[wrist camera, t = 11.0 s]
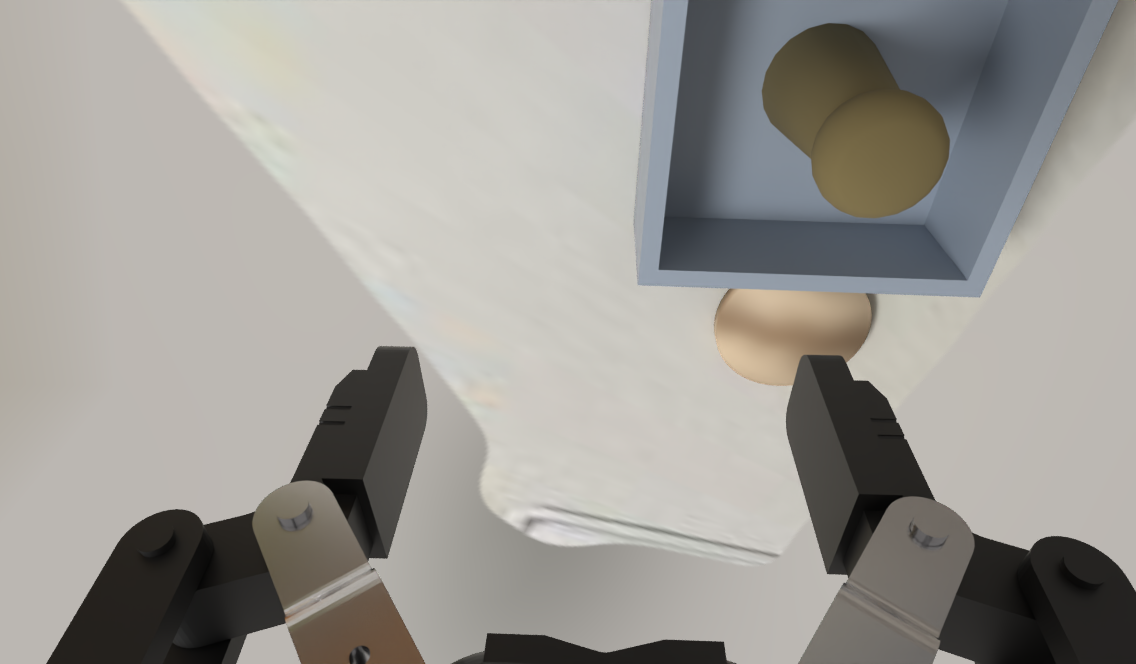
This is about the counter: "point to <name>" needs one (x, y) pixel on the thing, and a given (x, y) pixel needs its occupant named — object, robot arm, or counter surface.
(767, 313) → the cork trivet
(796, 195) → the bin
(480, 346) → the counter surface
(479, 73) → the counter surface
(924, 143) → the pepper shaker
